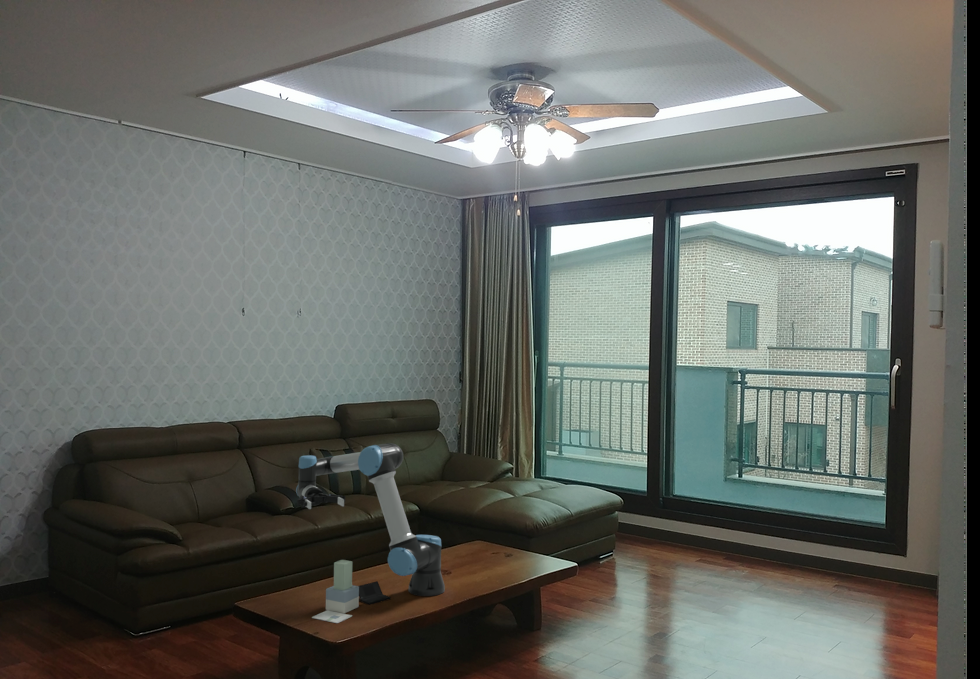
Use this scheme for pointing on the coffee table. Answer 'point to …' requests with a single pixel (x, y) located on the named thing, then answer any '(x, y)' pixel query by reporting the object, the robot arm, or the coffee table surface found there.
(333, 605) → the tower base
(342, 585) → the top brick
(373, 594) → the handheld gaming console
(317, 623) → the coffee table surface
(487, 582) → the coffee table surface
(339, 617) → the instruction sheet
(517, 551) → the coffee table surface
